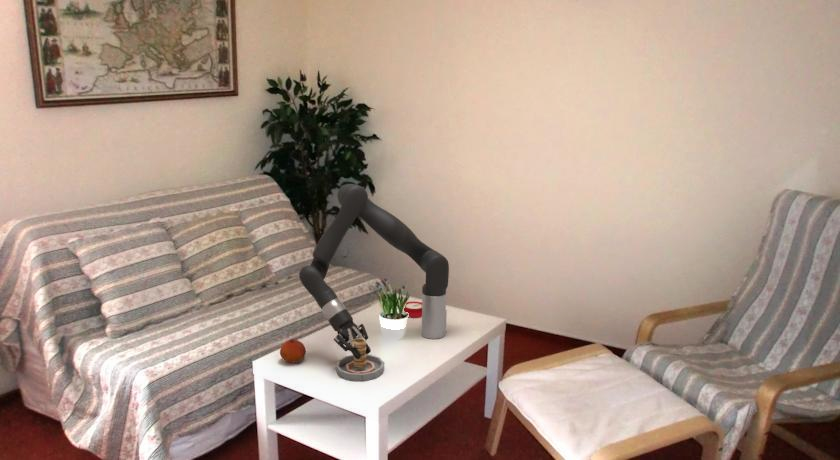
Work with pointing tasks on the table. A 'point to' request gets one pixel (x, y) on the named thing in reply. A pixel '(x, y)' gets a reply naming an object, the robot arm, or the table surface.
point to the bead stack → (361, 346)
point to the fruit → (292, 351)
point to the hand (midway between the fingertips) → (364, 355)
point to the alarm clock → (414, 309)
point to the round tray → (360, 374)
